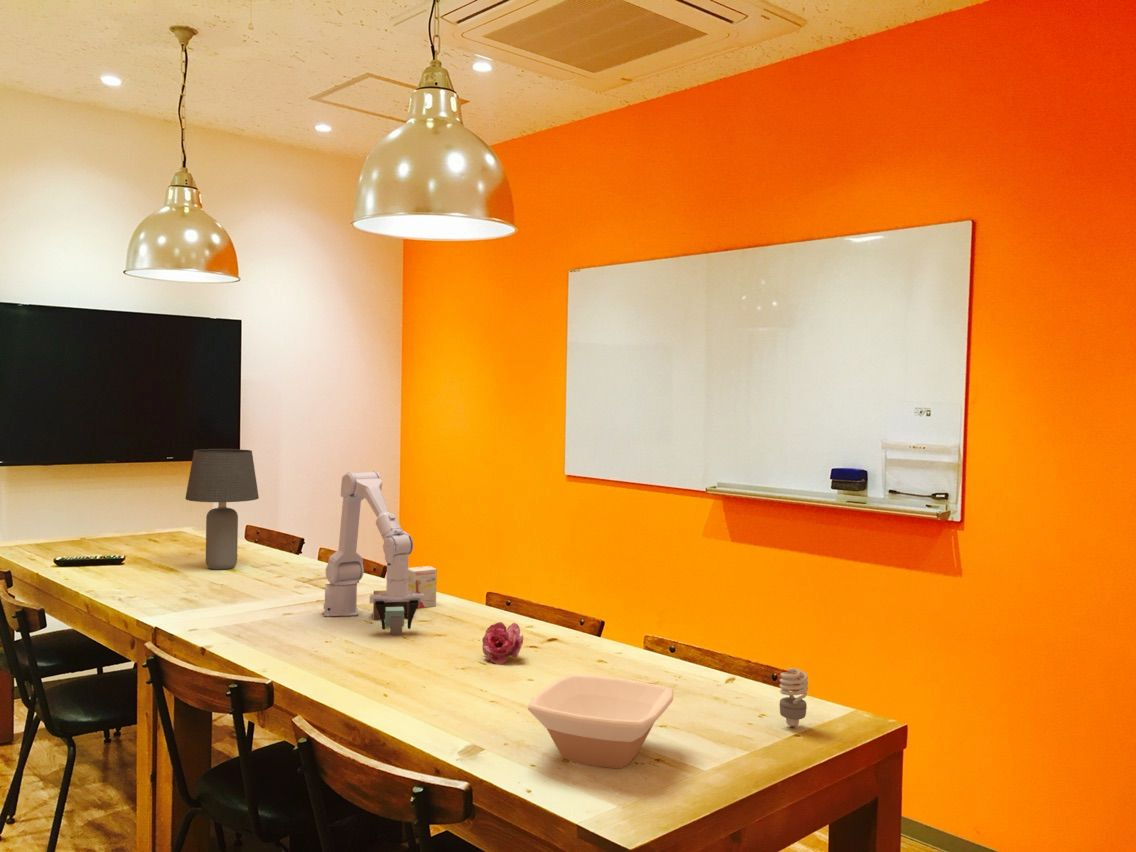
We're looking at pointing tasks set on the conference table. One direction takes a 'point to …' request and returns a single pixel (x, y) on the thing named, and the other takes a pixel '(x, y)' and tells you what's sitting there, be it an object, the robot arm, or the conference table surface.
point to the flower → (502, 642)
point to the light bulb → (790, 705)
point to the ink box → (423, 584)
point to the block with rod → (394, 619)
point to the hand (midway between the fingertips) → (396, 628)
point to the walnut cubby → (390, 605)
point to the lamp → (222, 498)
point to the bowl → (599, 717)
